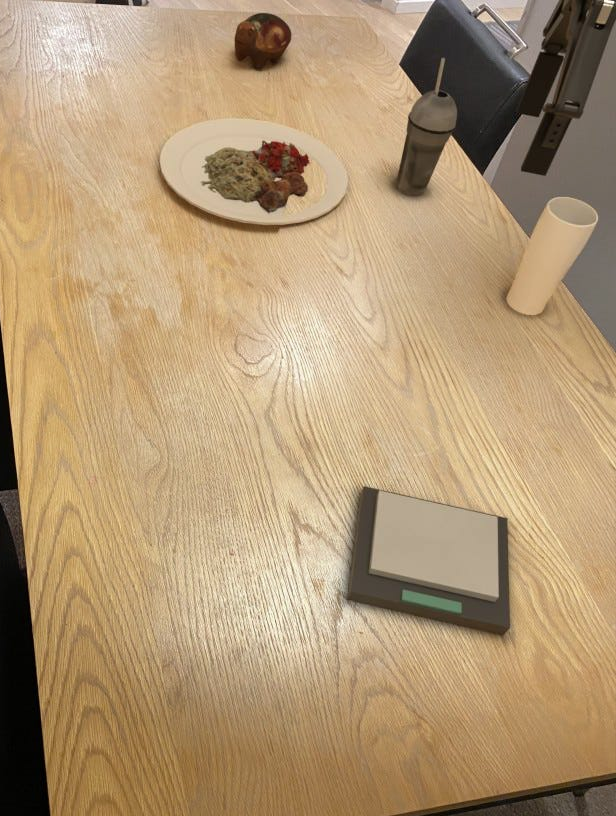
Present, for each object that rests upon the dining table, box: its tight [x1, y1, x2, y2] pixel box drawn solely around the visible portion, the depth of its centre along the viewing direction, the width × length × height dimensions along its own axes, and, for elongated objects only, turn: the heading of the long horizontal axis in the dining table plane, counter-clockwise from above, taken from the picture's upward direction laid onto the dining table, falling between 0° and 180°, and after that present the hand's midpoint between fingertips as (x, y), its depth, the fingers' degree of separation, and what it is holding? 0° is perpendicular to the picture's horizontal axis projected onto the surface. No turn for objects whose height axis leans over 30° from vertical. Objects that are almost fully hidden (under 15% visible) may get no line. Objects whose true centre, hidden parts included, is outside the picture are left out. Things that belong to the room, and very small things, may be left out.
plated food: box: [159, 117, 349, 226], centre depth 120 cm, size 30×30×3 cm
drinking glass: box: [505, 196, 599, 316], centre depth 103 cm, size 7×7×15 cm
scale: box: [346, 485, 511, 637], centre depth 80 cm, size 16×14×4 cm
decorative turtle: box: [234, 12, 292, 71], centre depth 142 cm, size 10×15×8 cm, turn 143°
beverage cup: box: [395, 57, 458, 198], centre depth 115 cm, size 7×7×20 cm
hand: (529, 142), depth 88 cm, fingers open, 13 cm apart
